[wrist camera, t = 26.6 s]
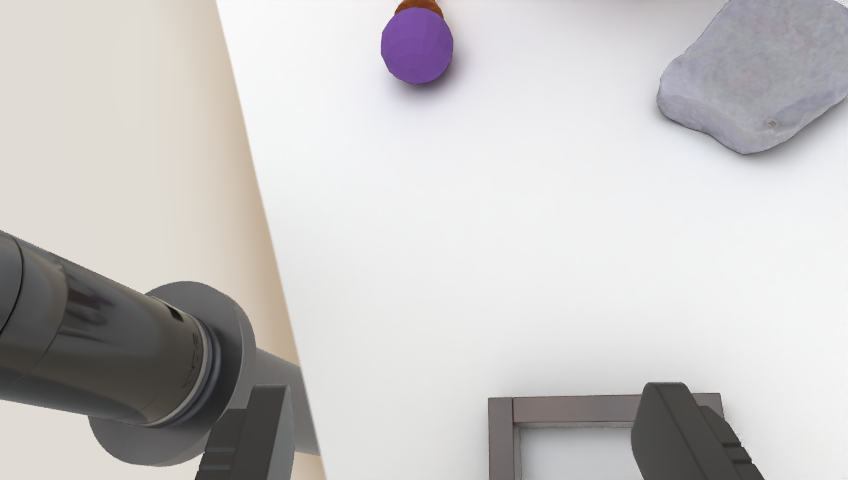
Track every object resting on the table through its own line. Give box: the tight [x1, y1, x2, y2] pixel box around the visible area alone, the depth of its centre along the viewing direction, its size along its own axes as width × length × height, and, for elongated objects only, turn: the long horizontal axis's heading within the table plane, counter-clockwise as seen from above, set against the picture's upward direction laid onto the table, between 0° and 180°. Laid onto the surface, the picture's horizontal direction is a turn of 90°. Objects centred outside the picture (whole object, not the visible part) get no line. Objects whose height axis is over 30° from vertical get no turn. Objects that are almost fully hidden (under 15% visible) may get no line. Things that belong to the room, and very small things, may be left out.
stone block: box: [657, 0, 848, 154], centre depth 41 cm, size 12×5×10 cm
